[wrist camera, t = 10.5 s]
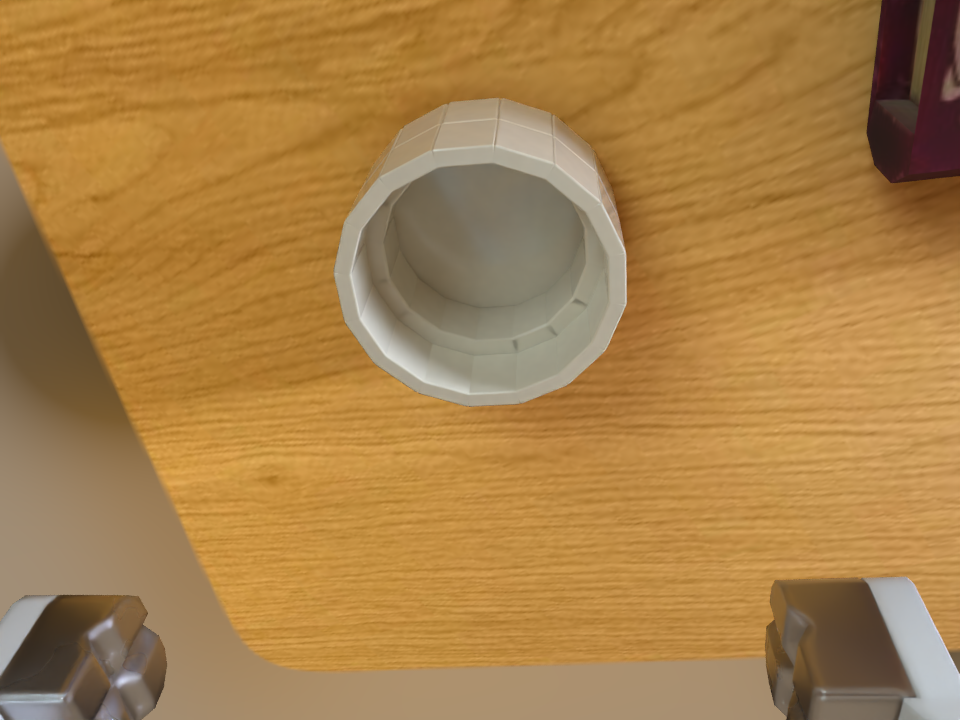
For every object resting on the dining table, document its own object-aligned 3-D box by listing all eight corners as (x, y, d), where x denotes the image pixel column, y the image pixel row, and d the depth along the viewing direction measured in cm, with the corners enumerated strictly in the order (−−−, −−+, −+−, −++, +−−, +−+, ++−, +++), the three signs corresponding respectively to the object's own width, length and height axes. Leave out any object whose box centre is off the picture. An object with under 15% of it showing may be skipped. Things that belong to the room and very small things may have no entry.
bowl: (389, 329, 23) (364, 412, 20) (346, 104, 20) (307, 160, 17) (615, 315, 23) (628, 399, 19) (610, 80, 19) (625, 133, 16)
